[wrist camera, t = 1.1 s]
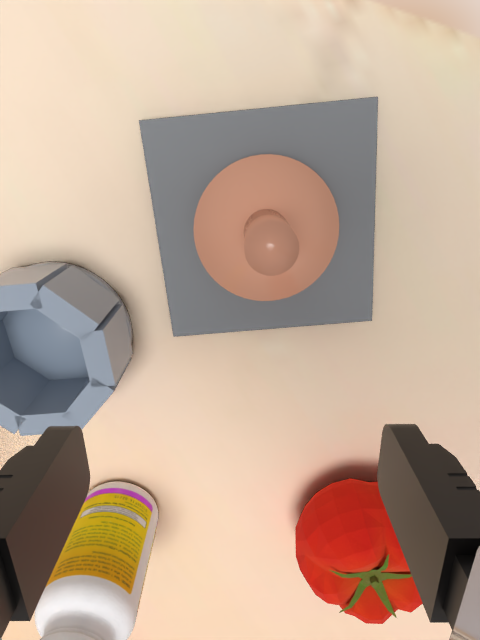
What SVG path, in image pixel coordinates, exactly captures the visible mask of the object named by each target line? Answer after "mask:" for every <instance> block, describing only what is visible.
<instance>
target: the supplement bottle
mask: <svg viewBox="0 0 480 640" xmlns="http://www.w3.org/2000/svg"><path fill="white" fill-rule="evenodd" d="M157 523H158V508H157V505H156V503H155V501H154V499H153V498H152V497H151V496H150V494H149V493H147V492H146V491H145V490H144V489H142V488H140V487H138V486H136V485H134V484H131V483H126V482H108V483H104V484H101V485H99V486H97V487H95V488H93V489H92V490H91V491H90V492H89V493H88V494H87V497H86V499H85V501H84V504H83V506H82V508H81V510H80V512H79V515H78V517H77V519H76V521H75V523H74V525H73V528H72V530H71V532H70V534H69V536H68V539H67V541H66V543H65V545H64V547H63V550H62V552H61V554H60V556H59V558H58V561H57V563H56V565H55V567H54V569H53V571H52V574H51V576H50V578H49V580H48V582H47V585H46V587H45V589H44V591H43V593H42V596H41V598H40V600H39V602H38V604H37V607H36V609H35V623H36V627H37V630H38V632H39V634H40V636H41V637H42V638H41V639H40V640H127V639H128V637H129V636H130V634H131V632H132V630H133V628H134V625H135V621H136V617H137V612H138V607H139V603H140V598H141V594H142V589H143V585H144V581H145V576H146V572H147V567H148V563H149V559H150V554H151V550H152V546H153V541H154V537H155V533H156V528H157Z"/></svg>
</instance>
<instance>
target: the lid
mask: <svg viewBox="0 0 480 640" xmlns="http://www.w3.org/2000/svg"><path fill="white" fill-rule="evenodd" d="M338 237H339V215H338V210H337V206H336V203H335V200H334V197H333V195H332V193H331V191H330V189H329V188H328V186H327V185H326V183H325V182H324V181H323V180H322V178H321V177H320V176H319V175H318V174H317V173H316V172H315V171H313V170H312V169H311V168H310V167H308V166H306V165H305V164H303V163H301V162H300V161H297V160H295V159H292V158H289V157H286V156H282V155H274V154H260V155H254V156H249V157H246V158H243V159H240V160H238V161H236V162H234V163H232V164H230V165H229V166H227V167H226V168H224V169H223V170H222V171H221V172H220V173H218V174H217V175H216V176H215V177H214V179H213V180H212V181H211V182H210V183H209V184H208V186H207V187H206V189H205V190H204V192H203V194H202V196H201V198H200V200H199V203H198V206H197V209H196V213H195V218H194V241H195V246H196V250H197V253H198V256H199V258H200V260H201V262H202V264H203V266H204V268H205V269H206V271H207V272H208V273H209V275H210V276H211V277H212V278H213V279H214V280H215V281H216V282H217V283H218V284H219V285H220V286H222V287H223V288H224V289H226V290H227V291H229V292H231V293H233V294H235V295H237V296H240V297H243V298H246V299H250V300H256V301H273V300H280V299H284V298H287V297H290V296H293V295H295V294H297V293H299V292H301V291H303V290H304V289H306V288H307V287H309V286H310V285H311V284H313V283H314V282H315V281H316V280H317V279H318V278H319V277H320V276H321V274H322V273H323V272H324V271H325V269H326V268H327V266H328V265H329V263H330V261H331V259H332V257H333V255H334V252H335V249H336V246H337V242H338Z"/></svg>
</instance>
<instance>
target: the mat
mask: <svg viewBox="0 0 480 640" xmlns="http://www.w3.org/2000/svg"><path fill="white" fill-rule="evenodd" d="M377 113H378V97H370V98H360V99H350V100H340V101H329V102H319V103H309V104H299V105H289V106H279V107H269V108H259V109H249V110H239V111H229V112H219V113H209V114H199V115H189V116H179V117H169V118H159V119H149V120H139V124H140V130H141V136H142V143H143V149H144V155H145V161H146V167H147V174H148V180H149V186H150V192H151V199H152V205H153V211H154V217H155V224H156V230H157V236H158V242H159V249H160V255H161V261H162V267H163V273H164V280H165V286H166V292H167V298H168V305H169V311H170V317H171V323H172V330H173V336H174V337H175V336H187V335H200V334H212V333H224V332H237V331H249V330H262V329H274V328H286V327H299V326H311V325H324V324H336V323H348V322H361V321H372V302H373V264H374V226H375V189H376V151H377ZM260 154H274V155H282V156H286V157H289V158H292V159H295V160H297V161H300V162H301V163H303V164H305V165H306V166H308V167H310V168H311V169H312V170H313V171H315V172H316V173H317V174H318V175H319V176H320V177H321V178H322V180H323V181H324V182H325V183H326V185H327V186H328V188H329V189H330V191H331V193H332V195H333V197H334V200H335V203H336V206H337V210H338V215H339V237H338V242H337V246H336V249H335V252H334V255H333V257H332V259H331V261H330V263H329V265H328V266H327V268H326V269H325V271H324V272H323V273H322V274H321V276H320V277H319V278H318V279H317V280H316V281H315V282H314V283H313V284H311V285H310V286H309V287H307V288H306V289H304V290H303V291H301V292H299V293H297V294H295V295H293V296H290V297H287V298H284V299H280V300H273V301H256V300H250V299H246V298H243V297H240V296H237V295H235V294H233V293H231V292H229V291H227V290H226V289H224V288H223V287H222V286H220V285H219V284H218V283H217V282H216V281H215V280H214V279H213V278H212V277H211V276H210V275H209V273H208V272H207V271H206V269H205V268H204V266H203V264H202V262H201V260H200V258H199V256H198V253H197V250H196V246H195V241H194V218H195V213H196V209H197V206H198V203H199V200H200V198H201V196H202V194H203V192H204V190H205V189H206V187H207V186H208V184H209V183H210V182H211V181H212V180H213V179H214V177H215V176H216V175H217V174H218V173H220V172H221V171H222V170H223V169H224V168H226V167H227V166H229V165H230V164H232V163H234V162H236V161H238V160H240V159H243V158H246V157H249V156H254V155H260Z"/></svg>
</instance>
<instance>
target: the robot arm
mask: <svg viewBox="0 0 480 640" xmlns="http://www.w3.org/2000/svg"><path fill="white" fill-rule="evenodd" d="M377 479H378V488H379V492H380V496H381V499H382V501H383V504H384V506H385V509H386V511H387V514H388V516H389V519H390V521H391V524H392V527H393V529H394V532H395V534H396V537H397V539H398V542H399V544H400V547H401V549H402V552H403V554H404V557H405V560H406V562H407V565H408V567H409V570H410V572H411V575H412V577H413V580H414V582H415V585H416V587H417V590H418V593H419V595H420V598H421V600H422V603H423V605H424V608H425V610H426V613H427V615H428V618H429V620H430V622H449V624H450V626H451V628H452V633H451V636H450V639H449V640H480V491H479V490H477V489H476V486H475V484H474V483H473V481H472V480H471V478H470V477H469V476H467V473H466V471H465V470H464V468H463V467H462V465H461V464H460V462H459V461H458V460H457V458H456V457H455V456H454V455H452V454H451V453H450V452H448V451H447V450H446V449H444V448H443V447H442V446H441V445H439V444H428V442H427V440H426V439H425V437H424V436H423V434H422V433H421V431H420V429H419V428H418V426H417V425H415V424H386V425H385V426H384V428H383V432H382V440H381V448H380V455H379V463H378V472H377ZM89 484H90V471H89V465H88V460H87V454H86V449H85V444H84V438H83V433H82V430H81V428H80V427H79V426H49V427H48V428H47V429H46V430H45V431H44V433H43V434H42V436H41V437H40V438H39V440H38V441H37V443H36V444H35V445H34V446H26V447H25V448H23V449H22V450H21V451H19V452H18V453H17V454H15V455H14V456H12V457H11V458H10V459H9V460H8V461H7V462H6V463H5V465H4V466H3V467H2V469H1V470H0V640H2V638H1V637H2V635H3V633H4V631H5V629H6V627H7V625H8V623H9V621H30V620H31V617H32V615H33V613H34V611H35V609H36V607H37V604H38V602H39V600H40V598H41V596H42V593H43V591H44V589H45V587H46V585H47V582H48V580H49V578H50V576H51V574H52V571H53V569H54V567H55V565H56V563H57V561H58V558H59V556H60V554H61V552H62V550H63V547H64V545H65V543H66V541H67V539H68V536H69V534H70V532H71V530H72V528H73V525H74V523H75V521H76V519H77V517H78V515H79V512H80V510H81V508H82V506H83V504H84V501H85V499H86V497H87V494H88V490H89Z"/></svg>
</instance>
